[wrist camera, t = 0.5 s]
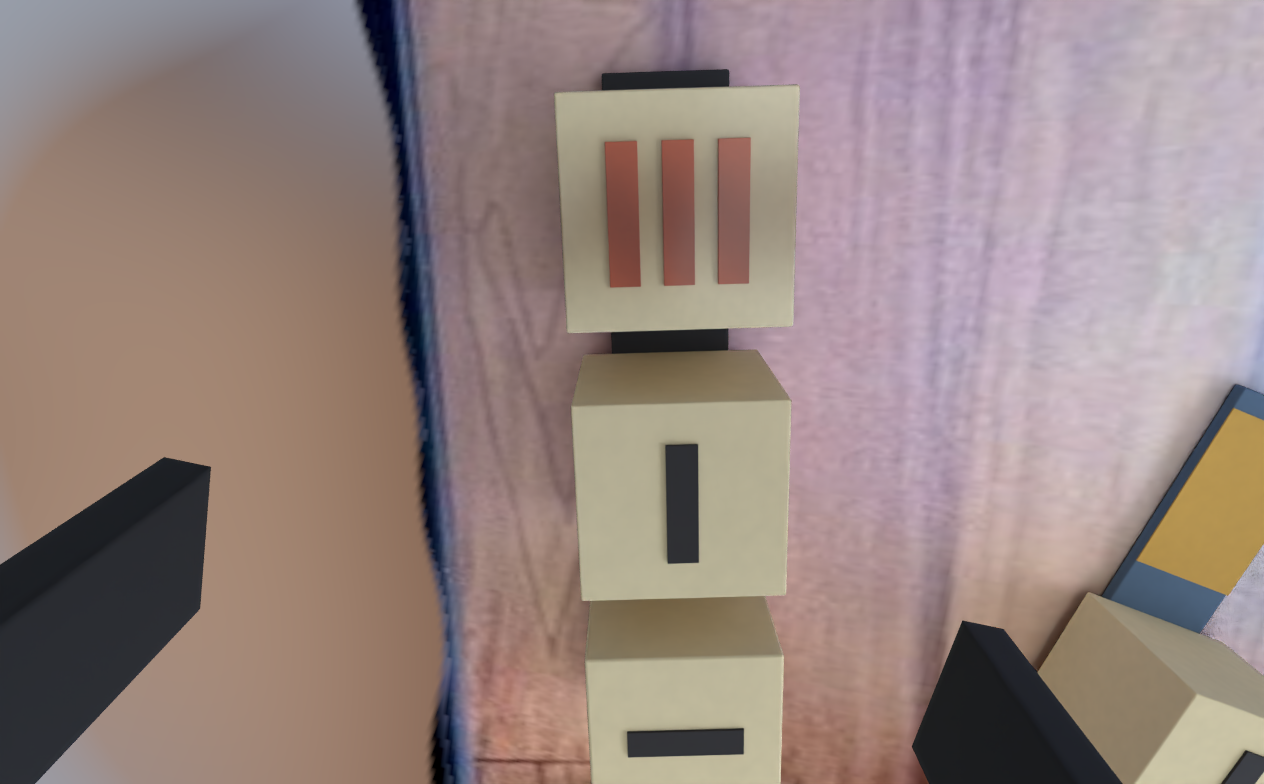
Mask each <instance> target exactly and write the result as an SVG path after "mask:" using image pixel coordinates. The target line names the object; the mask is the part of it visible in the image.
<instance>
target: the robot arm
mask: <svg viewBox="0 0 1264 784" xmlns="http://www.w3.org/2000/svg"><path fill="white" fill-rule="evenodd" d="M210 471H211V467H209V466H204V465H199V464H194V463H189V462H185V461H180V460H175V459H170V458H165V457H164V458H162V459H161V460H159V461H158V462H156V463H155V464H153V465H152V466H150V467H149V468H147V469H145V470H144V471H142V472H141V473H139V474H138V475H136V476H135V477H133V478H132V479H130V480H129V481H127V482H126V483H124V484H123V485H121V486H120V487H118V488H117V489H115V490H113V491H112V492H110V493H109V494H107V495H106V496H104V497H103V498H101V499H100V500H98V501H97V502H95V503H94V504H92V505H91V506H89V507H87V508H86V509H84V510H83V511H81V512H80V513H78V514H77V515H75V516H74V517H72V518H71V519H69V520H68V521H66V522H65V523H63V524H61V525H60V526H58V527H57V528H55V529H54V530H52V531H51V532H49V533H48V534H46V535H45V536H43V537H42V538H40V539H39V540H37V541H36V542H34V543H33V544H31V545H30V546H28V547H26V548H25V549H23V550H22V551H20V552H19V553H17V554H16V555H14V556H13V557H11V558H10V559H8V560H7V561H5V562H4V563H2V564H1V565H0V784H35V783H36V782H37V781H38V780H39V779H40V778H41V777H42V776H43V774H45V773H46V771H47V770H48V769H49V768H50V767H51V766H52V765H53V764H54V763H55V762H56V761H57V760H58V759H59V758H60V757H61V756H62V754H63V753H64V752H65V751H66V750H67V749H68V748H69V747H70V746H71V745H72V744H73V743H74V742H75V741H76V740H77V738H79V737H80V735H81V734H82V733H83V732H84V731H85V730H86V729H87V728H88V727H89V726H90V725H91V724H92V722H94V721H95V720H96V718H97V717H98V716H99V715H100V714H101V713H102V712H103V711H104V710H105V709H106V708H107V707H108V706H109V705H110V704H111V703H112V702H113V700H114V699H115V698H116V697H117V696H118V695H119V694H120V693H121V692H122V691H123V690H124V689H125V688H126V687H127V686H128V685H129V684H130V683H131V681H132V680H133V679H134V678H135V677H136V676H137V675H138V674H139V673H140V672H141V671H142V670H143V669H144V668H145V667H146V666H147V664H148V663H149V662H150V661H151V660H152V659H153V658H154V657H155V656H156V655H157V654H158V653H159V652H160V651H161V650H162V648H164V646H165V645H166V644H167V643H168V642H169V641H170V640H171V639H172V638H173V637H174V636H175V635H176V634H177V633H178V632H179V631H180V630H181V628H182V627H183V626H184V625H185V624H186V623H187V622H188V621H189V620H190V619H191V618H192V617H193V616H194V615H195V614H196V613H197V612H198V610H199V609H200V602H201V589H202V575H203V563H204V550H205V537H206V523H207V511H208V497H209V483H210ZM912 748H913V750H914V752H915V754H916V756H917V759H918V761H919V763H920V765H921V767H922V769H923V771H924V774H925V776H926V778H927V780H928V782H929V784H1123V783H1122V782H1121V781H1120V779H1119V778H1118V777H1117V776H1116V774H1115V773H1114V772H1113V770H1112V769H1111V768H1110V767H1109V765H1108V764H1107V763H1106V761H1105V760H1104V759H1103V757H1102V756H1101V755H1100V754H1099V752H1098V751H1097V750H1096V748H1095V747H1094V746H1093V744H1092V743H1091V742H1090V741H1089V739H1088V738H1087V737H1086V735H1085V734H1084V733H1083V731H1082V730H1081V729H1080V728H1079V726H1078V725H1077V724H1076V722H1075V721H1074V720H1073V719H1072V717H1071V716H1070V715H1069V713H1068V712H1067V711H1066V709H1065V708H1064V707H1063V706H1062V704H1061V703H1060V702H1059V700H1058V699H1057V698H1056V696H1055V695H1054V694H1053V693H1052V691H1051V690H1050V689H1049V687H1048V686H1047V685H1046V684H1045V682H1044V681H1043V680H1042V678H1041V677H1040V676H1039V674H1038V673H1037V672H1036V671H1035V669H1034V668H1033V667H1032V665H1031V664H1030V663H1029V661H1028V660H1027V659H1026V658H1025V656H1024V655H1023V654H1022V652H1021V651H1020V650H1019V649H1018V647H1017V646H1016V645H1015V643H1014V642H1013V641H1012V639H1011V638H1010V637H1009V636H1008V634H1007V633H1006V632H1005V630H1004V629H1001V628H996V627H991V626H986V625H981V624H976V623H971V622H967V621H962V623H961V625H960V628H959V630H958V633H957V635H956V638H955V640H954V643H953V645H952V648H951V650H950V653H949V655H948V658H947V660H946V663H945V665H944V668H943V670H942V673H941V675H940V678H939V680H938V683H937V685H936V688H935V690H934V693H933V695H932V698H931V700H930V703H929V705H928V708H927V710H926V713H925V715H924V717H923V720H922V722H921V725H920V727H919V730H918V732H917V735H916V737H915V740H914V742H913V745H912Z"/></svg>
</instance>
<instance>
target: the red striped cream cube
mask: <svg viewBox="0 0 1264 784" xmlns="http://www.w3.org/2000/svg"><path fill="white" fill-rule="evenodd" d="M799 98H800V86H799V85H797V84H796V85H764V86H733V87H701V88H669V89H637V90H606V91H574V92H555V93H554V106H555V124H556V143H557V161H558V180H559V198H560V217H561V236H562V254H563V273H564V291H565V310H566V329H567V333H592V332H626V331H659V330H693V329H726V328H760V327H791V326H793V315H794V279H795V243H796V206H797V170H798V134H799Z"/></svg>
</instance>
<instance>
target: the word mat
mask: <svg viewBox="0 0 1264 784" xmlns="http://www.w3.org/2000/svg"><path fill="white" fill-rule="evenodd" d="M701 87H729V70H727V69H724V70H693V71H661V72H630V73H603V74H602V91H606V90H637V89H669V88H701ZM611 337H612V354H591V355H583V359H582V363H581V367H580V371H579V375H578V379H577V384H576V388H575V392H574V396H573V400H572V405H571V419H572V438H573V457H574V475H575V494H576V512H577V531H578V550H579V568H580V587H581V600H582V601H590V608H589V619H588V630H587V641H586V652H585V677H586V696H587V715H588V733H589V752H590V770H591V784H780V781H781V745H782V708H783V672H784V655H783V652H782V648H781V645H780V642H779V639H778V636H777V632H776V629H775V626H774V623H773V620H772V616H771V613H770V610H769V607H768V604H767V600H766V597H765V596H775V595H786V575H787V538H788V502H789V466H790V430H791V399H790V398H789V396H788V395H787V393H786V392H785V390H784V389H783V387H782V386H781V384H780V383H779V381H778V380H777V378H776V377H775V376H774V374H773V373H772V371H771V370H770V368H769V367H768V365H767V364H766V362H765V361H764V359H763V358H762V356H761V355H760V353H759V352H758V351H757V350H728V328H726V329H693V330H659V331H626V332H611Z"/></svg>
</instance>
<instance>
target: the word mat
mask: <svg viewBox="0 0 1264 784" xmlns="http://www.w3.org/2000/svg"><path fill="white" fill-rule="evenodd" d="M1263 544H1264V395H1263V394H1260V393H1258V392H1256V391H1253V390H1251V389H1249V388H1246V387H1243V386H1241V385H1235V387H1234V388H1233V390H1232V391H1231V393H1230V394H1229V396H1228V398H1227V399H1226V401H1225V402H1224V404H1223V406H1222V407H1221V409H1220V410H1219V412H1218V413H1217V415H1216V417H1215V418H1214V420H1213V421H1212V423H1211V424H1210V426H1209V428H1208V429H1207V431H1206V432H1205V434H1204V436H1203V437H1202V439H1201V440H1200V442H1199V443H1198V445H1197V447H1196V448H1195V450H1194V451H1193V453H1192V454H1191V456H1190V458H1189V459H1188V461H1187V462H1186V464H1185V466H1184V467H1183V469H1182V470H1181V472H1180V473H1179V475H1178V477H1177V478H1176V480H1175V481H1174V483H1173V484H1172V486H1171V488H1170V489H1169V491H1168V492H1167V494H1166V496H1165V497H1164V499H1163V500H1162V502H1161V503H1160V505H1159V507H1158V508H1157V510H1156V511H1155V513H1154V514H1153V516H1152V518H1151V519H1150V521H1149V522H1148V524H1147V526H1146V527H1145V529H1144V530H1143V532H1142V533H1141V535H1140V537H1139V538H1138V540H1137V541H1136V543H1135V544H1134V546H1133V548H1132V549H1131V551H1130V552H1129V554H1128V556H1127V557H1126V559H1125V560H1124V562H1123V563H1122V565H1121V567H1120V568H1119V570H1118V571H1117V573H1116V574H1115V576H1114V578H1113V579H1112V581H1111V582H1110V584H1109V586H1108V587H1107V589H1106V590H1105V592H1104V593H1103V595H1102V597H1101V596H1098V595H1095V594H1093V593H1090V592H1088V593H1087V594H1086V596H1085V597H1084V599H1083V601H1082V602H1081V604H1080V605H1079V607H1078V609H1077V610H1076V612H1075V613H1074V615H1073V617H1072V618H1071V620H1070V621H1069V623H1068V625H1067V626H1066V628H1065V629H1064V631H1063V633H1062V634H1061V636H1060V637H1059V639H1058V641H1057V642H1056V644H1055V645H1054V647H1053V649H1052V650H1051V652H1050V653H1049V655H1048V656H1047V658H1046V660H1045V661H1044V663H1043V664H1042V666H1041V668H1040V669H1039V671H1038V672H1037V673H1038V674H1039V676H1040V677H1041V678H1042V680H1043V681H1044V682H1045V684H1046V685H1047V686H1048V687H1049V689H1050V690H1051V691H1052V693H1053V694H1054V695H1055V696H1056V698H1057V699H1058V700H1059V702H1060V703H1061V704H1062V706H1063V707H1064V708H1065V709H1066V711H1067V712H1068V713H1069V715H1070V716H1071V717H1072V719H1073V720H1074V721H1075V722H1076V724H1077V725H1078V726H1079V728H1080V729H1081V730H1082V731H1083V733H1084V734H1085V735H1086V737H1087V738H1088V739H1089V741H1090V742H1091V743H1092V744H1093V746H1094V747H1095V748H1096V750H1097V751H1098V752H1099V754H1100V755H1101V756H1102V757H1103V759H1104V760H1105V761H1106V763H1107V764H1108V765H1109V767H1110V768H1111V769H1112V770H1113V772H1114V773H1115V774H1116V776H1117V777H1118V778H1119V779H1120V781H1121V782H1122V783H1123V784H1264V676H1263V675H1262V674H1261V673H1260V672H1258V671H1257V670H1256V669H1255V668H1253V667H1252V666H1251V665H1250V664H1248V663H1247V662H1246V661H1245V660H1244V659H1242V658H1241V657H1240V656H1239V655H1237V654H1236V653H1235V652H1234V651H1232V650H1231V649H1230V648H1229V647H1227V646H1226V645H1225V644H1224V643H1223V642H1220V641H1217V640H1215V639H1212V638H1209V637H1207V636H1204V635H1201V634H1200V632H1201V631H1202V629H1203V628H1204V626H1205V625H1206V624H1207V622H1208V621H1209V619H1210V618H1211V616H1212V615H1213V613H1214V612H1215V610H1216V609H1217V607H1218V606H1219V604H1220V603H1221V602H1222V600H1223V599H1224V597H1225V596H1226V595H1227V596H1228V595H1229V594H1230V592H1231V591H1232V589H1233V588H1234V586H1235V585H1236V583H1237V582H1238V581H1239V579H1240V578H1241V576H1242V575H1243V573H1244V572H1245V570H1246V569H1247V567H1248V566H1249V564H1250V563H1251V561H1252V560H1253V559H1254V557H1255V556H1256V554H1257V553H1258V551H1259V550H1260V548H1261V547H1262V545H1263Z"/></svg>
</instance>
